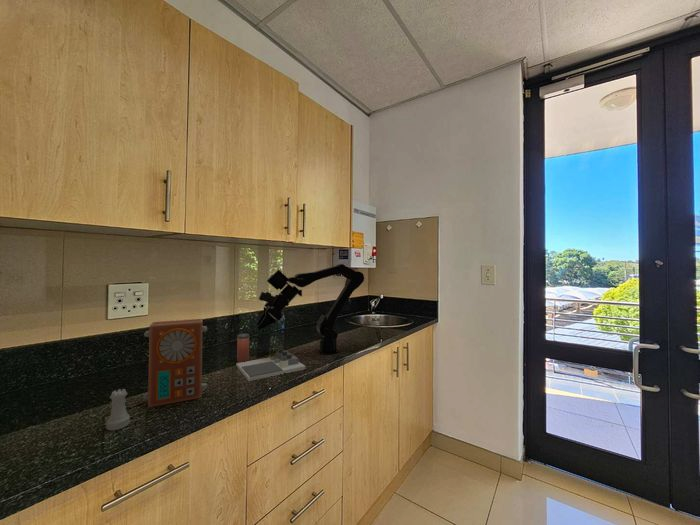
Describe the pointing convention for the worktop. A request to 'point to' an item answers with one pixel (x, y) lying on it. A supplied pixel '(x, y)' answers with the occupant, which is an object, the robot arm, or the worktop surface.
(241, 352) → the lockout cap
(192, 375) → the control panel
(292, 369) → the breaker board
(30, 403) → the worktop surface
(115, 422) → the rook chess piece
